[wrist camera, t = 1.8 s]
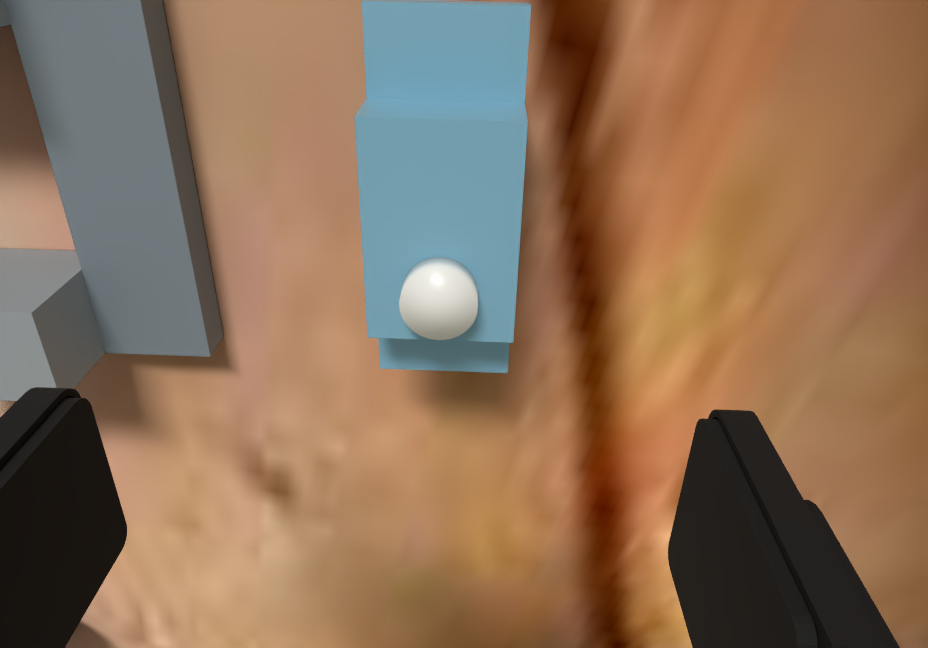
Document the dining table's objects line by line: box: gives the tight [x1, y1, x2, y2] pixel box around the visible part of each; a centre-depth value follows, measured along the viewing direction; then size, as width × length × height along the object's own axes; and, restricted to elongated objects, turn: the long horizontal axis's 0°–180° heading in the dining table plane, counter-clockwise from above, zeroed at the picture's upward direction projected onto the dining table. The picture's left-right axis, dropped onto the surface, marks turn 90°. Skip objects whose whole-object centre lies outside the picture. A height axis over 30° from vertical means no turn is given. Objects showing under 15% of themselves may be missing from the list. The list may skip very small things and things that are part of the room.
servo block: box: [355, 0, 531, 373], centre depth 20 cm, size 4×10×8 cm, turn 179°
